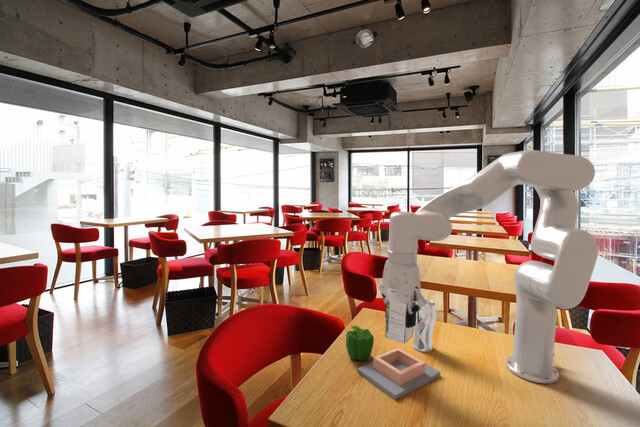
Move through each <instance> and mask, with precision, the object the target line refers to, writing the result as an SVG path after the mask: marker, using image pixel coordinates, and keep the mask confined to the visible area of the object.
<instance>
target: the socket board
mask: <svg viewBox="0 0 640 427" xmlns="http://www.w3.org/2000/svg"><path fill="white" fill-rule="evenodd" d="M372 360H373V361H372V362H370V363H367V364H365V365H363V366H360V367H358V368H357V373H358V374H359V375H360V376H362V377H363V378H365V380H367V381H368V382H370V383H371V384H373V385H374V386H375V387H377V389H379V390H381V391H382V392H383V393H385V394H386V395H388V396H389V397H390V398H391V399H393V400H395V401H396V400H398V399H400V398H403V396H406V395H408V394H409V393H411V392H412V391H414V390H417V389H418V388H420V387H422V386H424V385H426V384H428V383H430V382H432V381H434V380H436V379H437V378H439V377H441V371H439V370H438V369H436V368H434V367H433V366H430V365H429V364H427V363H426V362H425V361H423V360H422V359H420V358H418V357H416V356H414V355H412V353H409V352H406V351H405V350H403V349H402V348H400V347H395V348H393V349H390V350H387V351H386V352H383V353H381V354H378V355H376V356H373V358H372Z"/></svg>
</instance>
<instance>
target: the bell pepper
mask: <svg viewBox="0 0 640 427" xmlns="http://www.w3.org/2000/svg"><path fill="white" fill-rule="evenodd" d="M351 329H352V330H348V331H347V332H346V334H345V346H346V350H347V355H348V356H349V357H350V358H351V360H355V361H356V360H358V361H360V362H364V361H368V359H369V358H370V357H371V354H372V350H373V347H374V341H375V337H374V335H373V334H372V333H371V331H370V329H368V328H365V329H362V328H361V327H359V326H358V325H356V324H355V325H351Z"/></svg>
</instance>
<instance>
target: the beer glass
mask: <svg viewBox="0 0 640 427" xmlns="http://www.w3.org/2000/svg"><path fill="white" fill-rule="evenodd" d="M425 300H426V302H427V304H426V305H425V306H424V307H422V309H420V310H419V311H418V312H416V325H415V326H413V333H414V337H413V338H414V339H413V341H412V342H413V344H412V347H413V348H414V350H416V351H418V352H422V353H430V352H432V351H433V350H434V349H433V348H434V347H433V342H432V337H433V332H434V329H435V323H436V303H435V302H434V301H432V300H429V299H425ZM416 303H417V304H418V301H416Z"/></svg>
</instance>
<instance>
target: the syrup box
mask: <svg viewBox="0 0 640 427" xmlns="http://www.w3.org/2000/svg"><path fill="white" fill-rule="evenodd" d="M411 306H412V303H411ZM412 308H413V306H412ZM407 313H409V312H408V309H407V304H404V303H401V302H399V301H397V300H396V298H395V288H392V287H388V290H387V309H386V317H385V330H384V332H385V334H384V337H385V338H386V339H388V340H391V341H394V342H397V343H400V344H405V343H407V342H408V341H409V340H411V338H414V337H413V336H414V326H413V327H410V328H407V327H406V314H407Z"/></svg>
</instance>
